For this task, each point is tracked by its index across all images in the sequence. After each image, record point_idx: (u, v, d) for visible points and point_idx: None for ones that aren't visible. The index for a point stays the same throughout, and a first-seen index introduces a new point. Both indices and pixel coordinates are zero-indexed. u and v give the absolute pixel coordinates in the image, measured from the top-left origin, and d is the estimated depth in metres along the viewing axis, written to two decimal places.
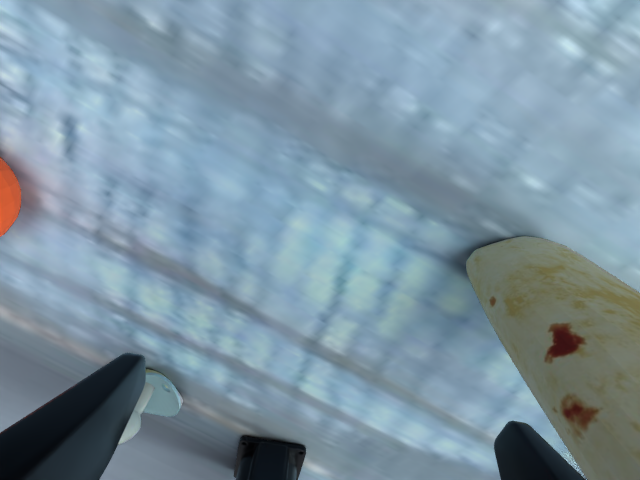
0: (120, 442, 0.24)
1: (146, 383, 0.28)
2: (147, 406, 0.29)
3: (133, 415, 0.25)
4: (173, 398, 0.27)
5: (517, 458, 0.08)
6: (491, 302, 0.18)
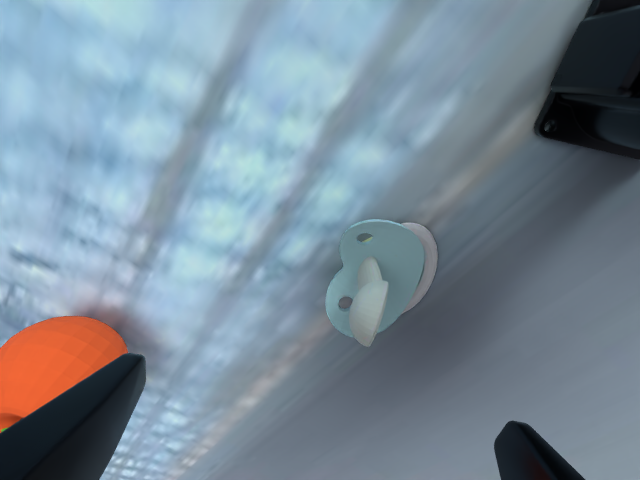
0: (376, 313, 0.14)
1: (360, 265, 0.18)
2: (408, 274, 0.18)
3: (363, 287, 0.15)
4: (380, 230, 0.17)
5: (517, 458, 0.08)
6: None
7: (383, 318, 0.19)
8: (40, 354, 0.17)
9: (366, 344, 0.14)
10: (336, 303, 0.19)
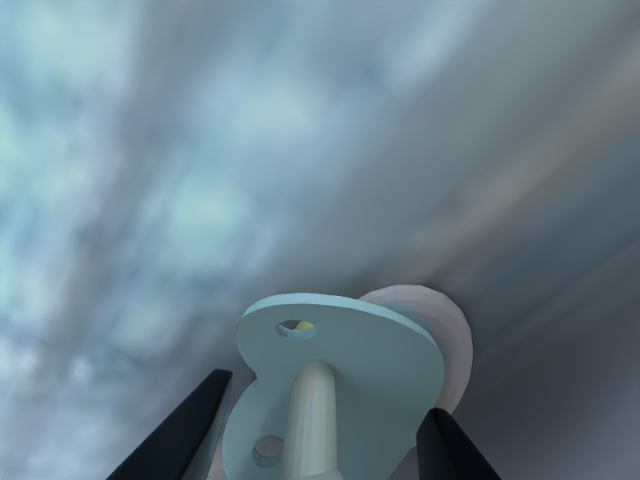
0: None
1: (296, 378, 0.08)
2: (406, 400, 0.08)
3: None
4: (329, 317, 0.06)
5: (430, 443, 0.07)
6: None
7: None
8: None
9: None
10: (248, 452, 0.09)
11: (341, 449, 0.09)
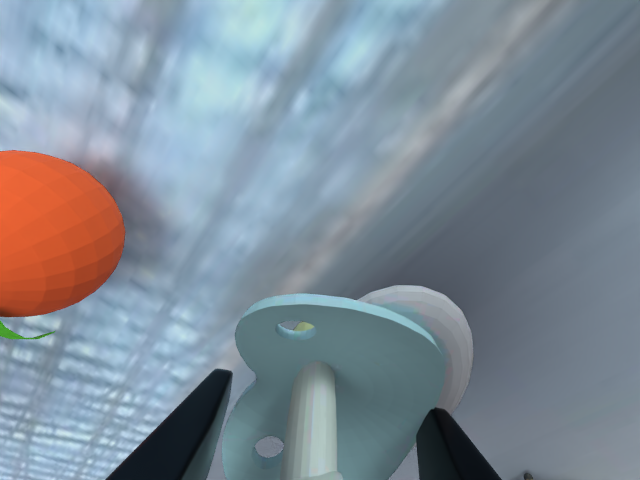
0: None
1: (296, 378, 0.08)
2: (406, 400, 0.08)
3: None
4: (330, 318, 0.06)
5: (430, 443, 0.07)
6: None
7: None
8: None
9: None
10: (248, 452, 0.09)
11: (341, 450, 0.09)
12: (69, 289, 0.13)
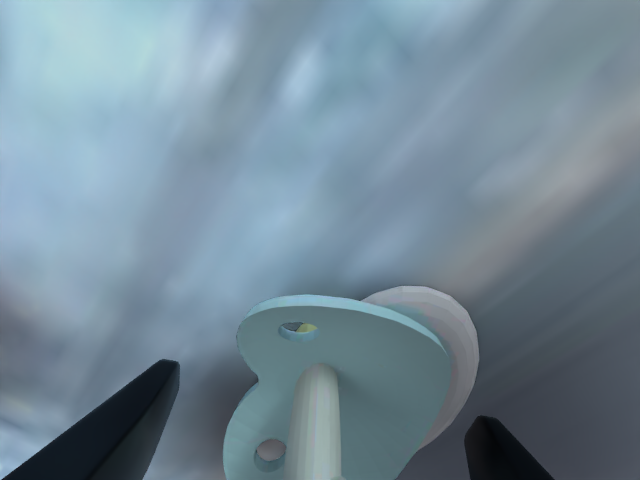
0: None
1: (299, 380, 0.08)
2: (411, 403, 0.08)
3: None
4: (334, 319, 0.06)
5: (484, 452, 0.08)
6: None
7: None
8: None
9: None
10: (249, 455, 0.09)
11: (344, 453, 0.09)
12: None
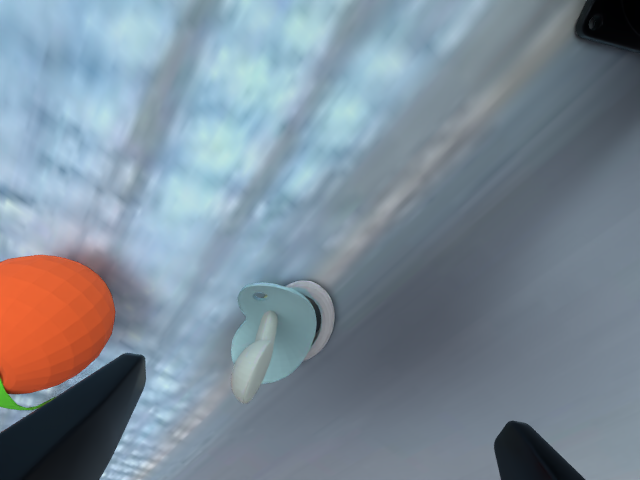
0: (247, 376, 0.15)
1: (262, 318, 0.20)
2: (306, 327, 0.20)
3: None
4: (270, 291, 0.18)
5: (517, 458, 0.08)
6: None
7: (286, 365, 0.21)
8: (8, 286, 0.15)
9: (242, 402, 0.16)
10: (242, 351, 0.21)
11: (282, 351, 0.21)
12: (68, 371, 0.16)
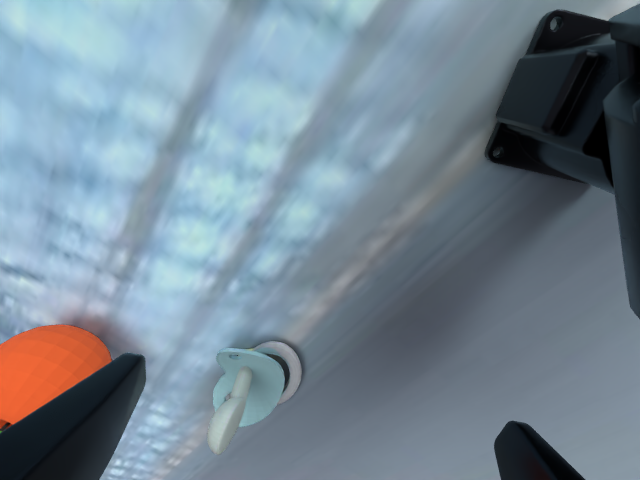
0: (219, 434, 0.19)
1: (238, 372, 0.23)
2: (276, 379, 0.23)
3: (221, 405, 0.20)
4: (243, 354, 0.21)
5: (517, 458, 0.08)
6: None
7: (260, 411, 0.24)
8: (24, 362, 0.18)
9: None
10: (222, 399, 0.24)
11: (257, 398, 0.24)
12: None
